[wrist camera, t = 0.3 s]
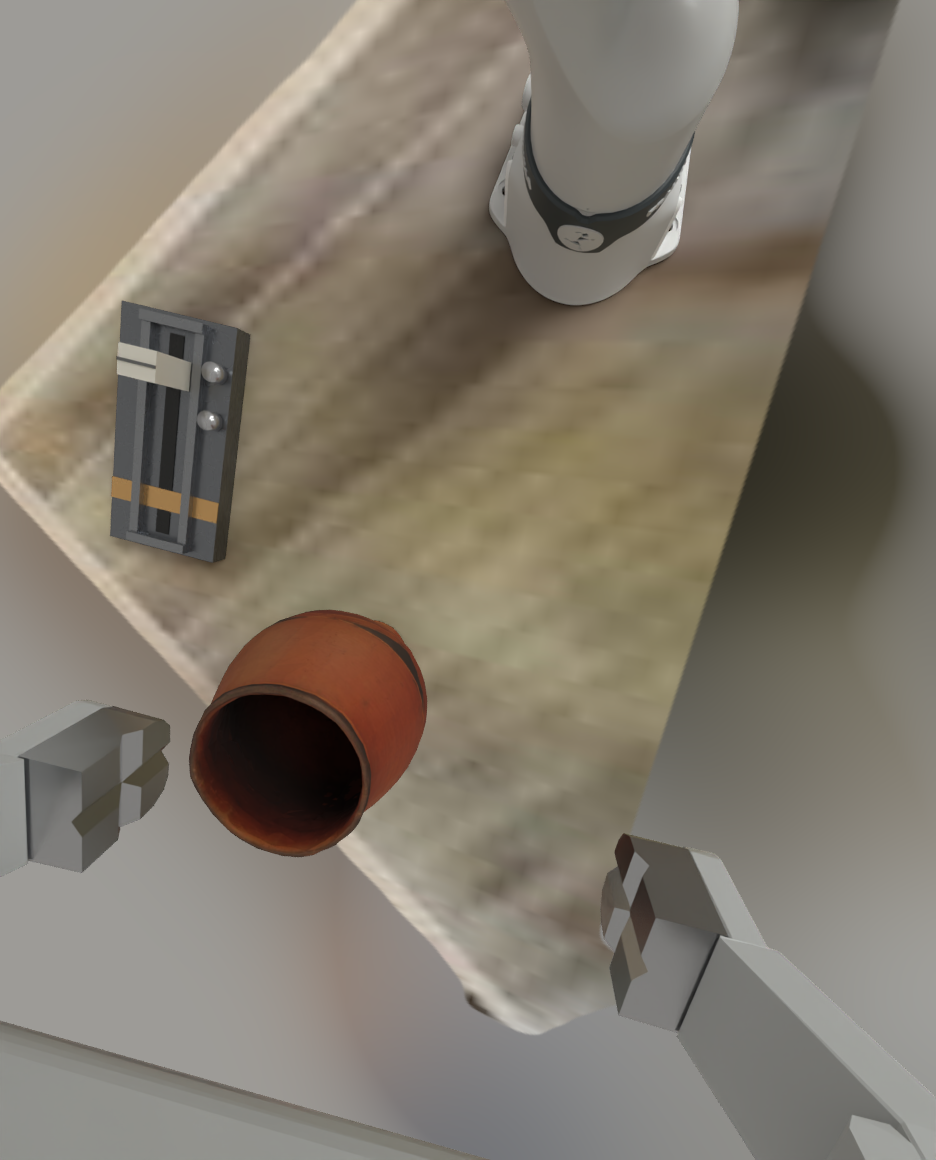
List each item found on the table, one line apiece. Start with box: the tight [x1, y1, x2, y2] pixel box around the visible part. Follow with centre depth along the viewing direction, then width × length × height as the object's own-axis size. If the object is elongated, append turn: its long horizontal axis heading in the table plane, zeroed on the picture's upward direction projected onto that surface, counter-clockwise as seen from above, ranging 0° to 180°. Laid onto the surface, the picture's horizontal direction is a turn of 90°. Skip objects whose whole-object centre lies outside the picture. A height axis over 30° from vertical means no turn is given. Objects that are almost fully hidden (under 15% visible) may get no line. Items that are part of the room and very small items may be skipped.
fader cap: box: [117, 342, 191, 392], centre depth 48 cm, size 3×4×5 cm
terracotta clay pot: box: [189, 610, 427, 857], centre depth 47 cm, size 19×19×25 cm
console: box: [110, 301, 250, 563], centre depth 53 cm, size 26×13×4 cm, turn 166°
